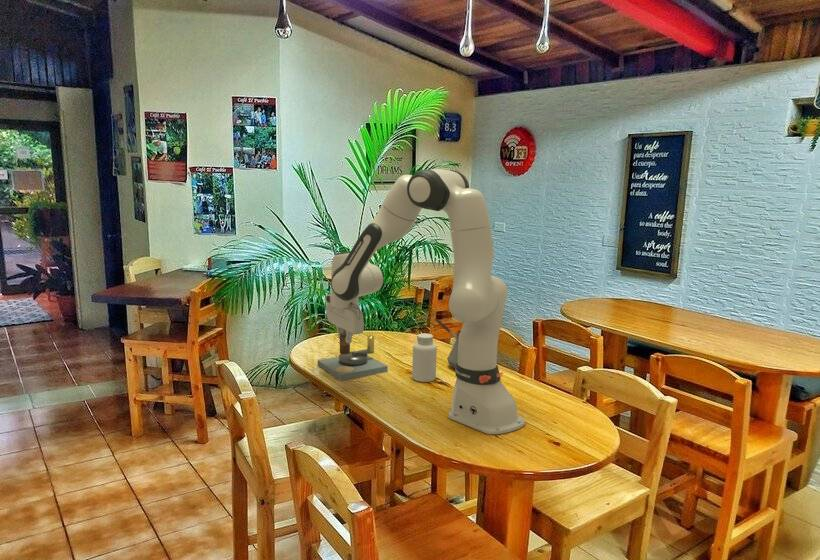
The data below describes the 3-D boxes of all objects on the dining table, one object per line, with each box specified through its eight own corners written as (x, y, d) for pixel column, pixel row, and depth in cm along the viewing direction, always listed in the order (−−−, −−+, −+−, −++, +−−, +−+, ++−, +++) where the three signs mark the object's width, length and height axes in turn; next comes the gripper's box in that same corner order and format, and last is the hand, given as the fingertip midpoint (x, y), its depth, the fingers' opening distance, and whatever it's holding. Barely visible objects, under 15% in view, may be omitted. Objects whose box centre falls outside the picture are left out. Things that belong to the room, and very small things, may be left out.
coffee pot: (486, 368, 201) (488, 327, 199) (463, 375, 194) (464, 332, 191) (444, 353, 217) (445, 315, 215) (422, 359, 210) (423, 320, 208)
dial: (380, 361, 200) (380, 339, 199) (347, 367, 193) (347, 344, 191) (366, 353, 208) (366, 332, 207) (334, 359, 201) (333, 337, 200)
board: (387, 371, 196) (387, 364, 196) (340, 381, 186) (340, 374, 186) (362, 357, 211) (362, 351, 211) (317, 365, 201) (317, 358, 201)
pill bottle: (426, 384, 185) (427, 340, 182) (407, 378, 190) (408, 335, 187) (440, 378, 191) (441, 334, 188) (421, 372, 196) (422, 330, 193)
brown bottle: (351, 353, 189) (351, 327, 188) (342, 354, 187) (342, 329, 186) (346, 350, 192) (347, 325, 190) (337, 352, 190) (337, 326, 189)
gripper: (369, 305, 180) (368, 347, 182) (339, 293, 196) (339, 332, 199) (351, 307, 176) (351, 350, 179) (323, 295, 193) (323, 334, 195)
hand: (344, 340), depth 189 cm, fingers closed on brown bottle, 3 cm apart
